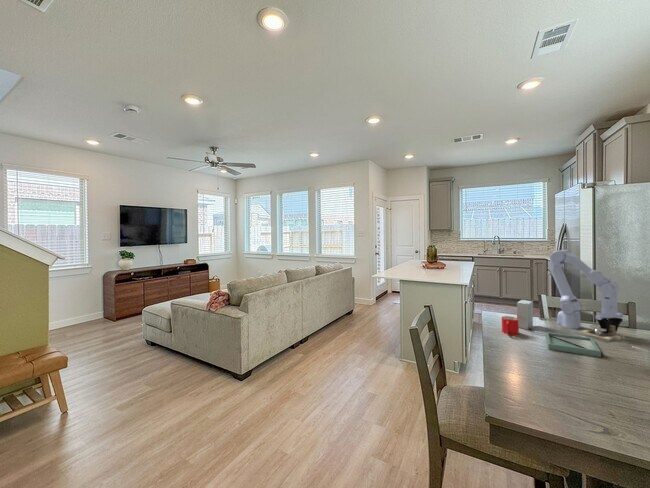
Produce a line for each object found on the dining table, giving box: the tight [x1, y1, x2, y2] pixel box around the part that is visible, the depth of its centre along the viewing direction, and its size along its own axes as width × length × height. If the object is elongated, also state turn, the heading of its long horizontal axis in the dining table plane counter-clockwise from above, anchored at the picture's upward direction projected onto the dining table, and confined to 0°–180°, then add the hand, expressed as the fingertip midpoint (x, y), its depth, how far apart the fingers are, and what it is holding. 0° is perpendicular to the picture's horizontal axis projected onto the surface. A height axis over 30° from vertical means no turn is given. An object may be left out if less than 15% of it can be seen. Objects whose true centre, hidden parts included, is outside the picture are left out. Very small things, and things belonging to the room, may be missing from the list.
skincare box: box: [516, 299, 534, 330], centre depth 165 cm, size 8×6×15 cm
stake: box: [589, 325, 606, 337], centre depth 144 cm, size 6×2×4 cm, turn 11°
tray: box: [545, 331, 602, 358], centre depth 137 cm, size 18×18×2 cm
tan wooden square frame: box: [577, 325, 625, 342], centre depth 144 cm, size 12×12×5 cm
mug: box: [501, 315, 520, 336], centre depth 156 cm, size 8×12×8 cm, turn 140°
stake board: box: [573, 331, 631, 344], centre depth 144 cm, size 15×15×2 cm
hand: (609, 332), depth 145 cm, fingers open, 5 cm apart
